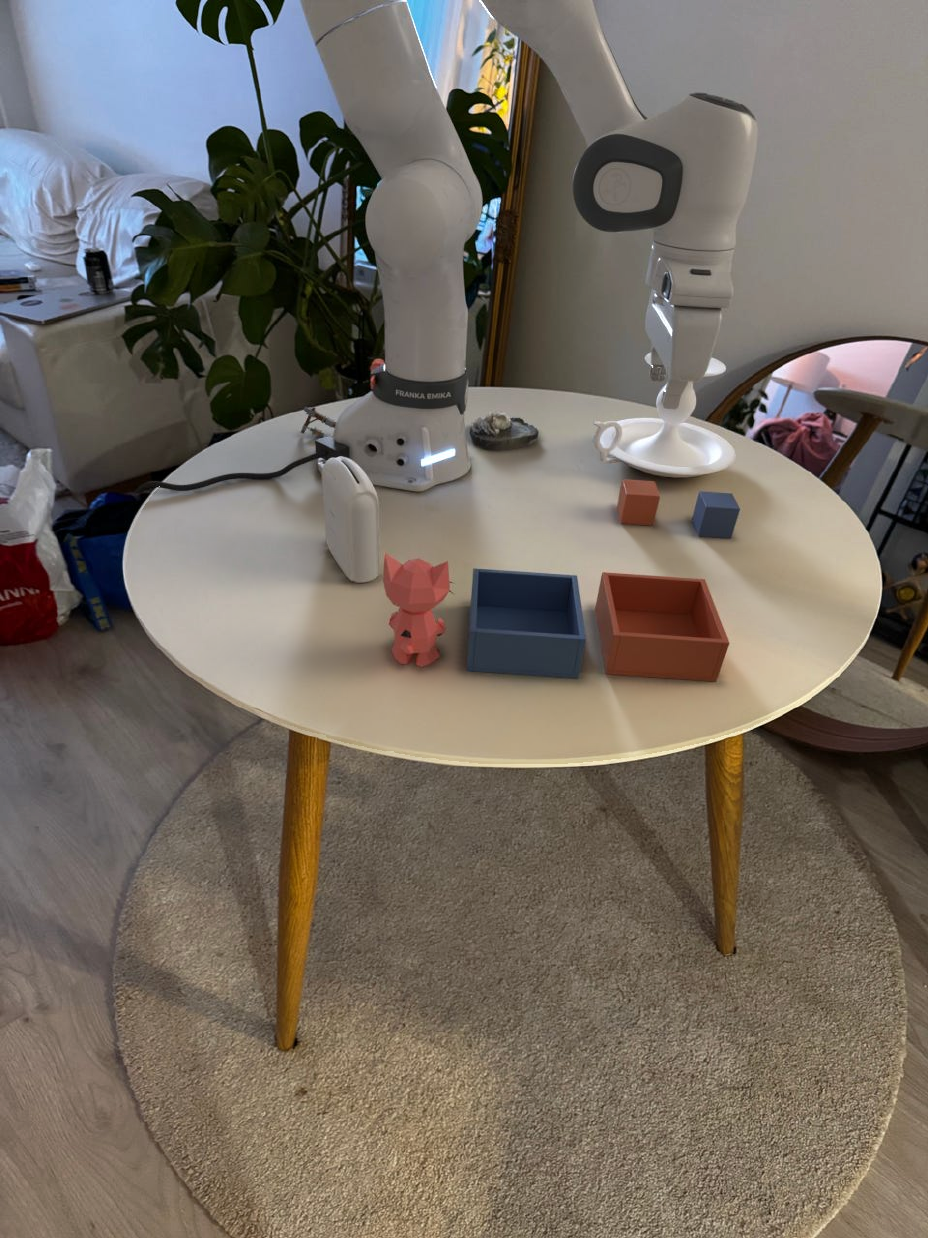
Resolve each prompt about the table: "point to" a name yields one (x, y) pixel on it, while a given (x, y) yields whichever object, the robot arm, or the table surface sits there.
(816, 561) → the table surface
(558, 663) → the slate bin
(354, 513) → the photo printer
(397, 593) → the cat figurine
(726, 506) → the slate block
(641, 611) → the terracotta bin
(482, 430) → the shell on grey dish
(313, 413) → the wooden post with brackets
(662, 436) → the candlestick
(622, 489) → the terracotta block
